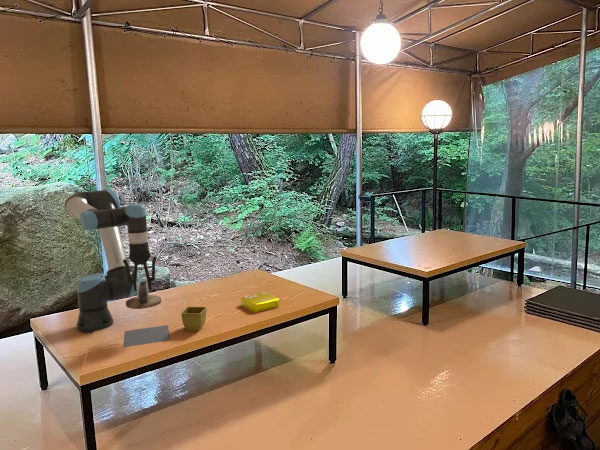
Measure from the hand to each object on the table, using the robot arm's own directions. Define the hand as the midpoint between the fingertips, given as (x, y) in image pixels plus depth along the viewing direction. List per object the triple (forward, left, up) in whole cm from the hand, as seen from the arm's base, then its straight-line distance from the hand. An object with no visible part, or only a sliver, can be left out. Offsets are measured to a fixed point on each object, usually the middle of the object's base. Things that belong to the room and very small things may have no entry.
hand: (143, 297), depth 197 cm
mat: (0, 0, -17) cm, 17 cm away
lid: (0, 0, -2) cm, 2 cm away
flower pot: (+20, 0, -17) cm, 27 cm away
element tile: (+54, +20, -18) cm, 60 cm away
